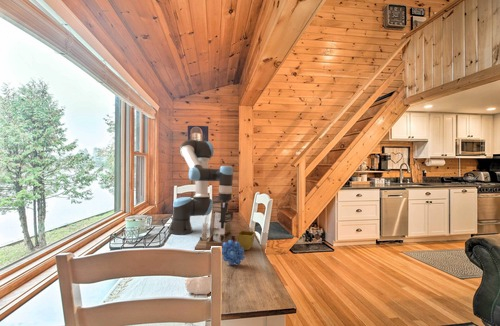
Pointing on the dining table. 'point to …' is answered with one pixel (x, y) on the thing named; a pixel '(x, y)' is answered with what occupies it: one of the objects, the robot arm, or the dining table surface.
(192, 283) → the bust
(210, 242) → the stand
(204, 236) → the latch bar
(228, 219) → the coffee box
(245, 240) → the flower pot
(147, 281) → the dining table surface
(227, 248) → the blue flower head
